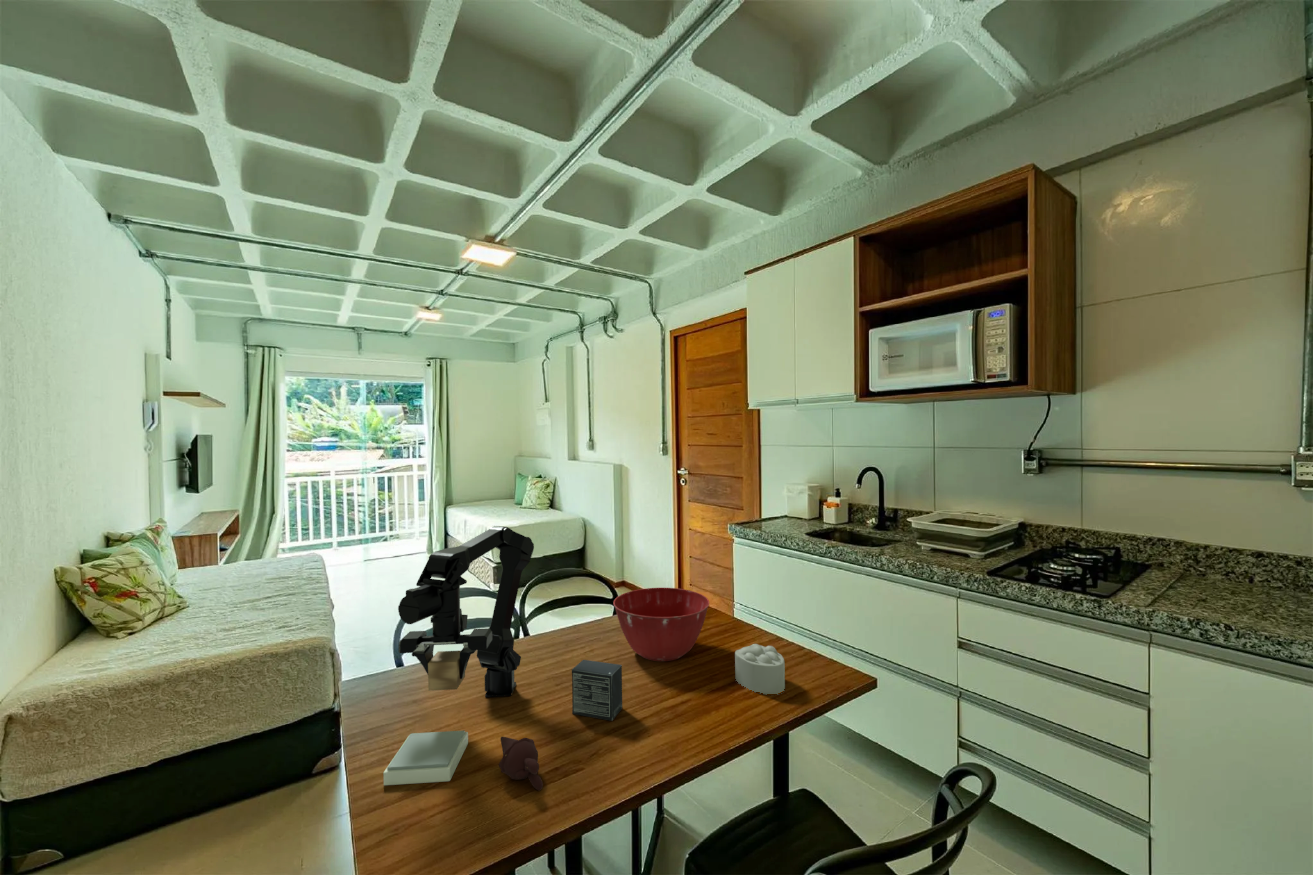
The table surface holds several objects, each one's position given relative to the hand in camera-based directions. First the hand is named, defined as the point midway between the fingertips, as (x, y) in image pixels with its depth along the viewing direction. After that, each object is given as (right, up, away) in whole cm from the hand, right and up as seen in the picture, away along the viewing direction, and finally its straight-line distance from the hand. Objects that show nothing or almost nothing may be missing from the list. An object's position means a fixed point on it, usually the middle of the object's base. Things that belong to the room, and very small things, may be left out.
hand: (447, 678), depth 114 cm
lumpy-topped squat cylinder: (+74, -10, +19) cm, 77 cm away
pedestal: (+1, -11, -12) cm, 16 cm away
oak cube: (0, -1, 0) cm, 1 cm away
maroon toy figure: (+20, -11, -16) cm, 28 cm away
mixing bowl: (+48, -11, +39) cm, 63 cm away
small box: (+33, -11, +7) cm, 35 cm away
